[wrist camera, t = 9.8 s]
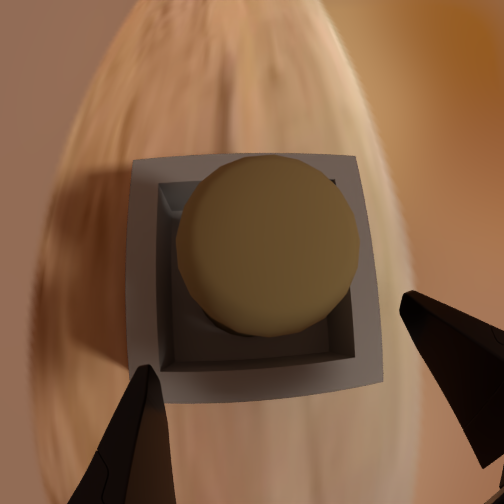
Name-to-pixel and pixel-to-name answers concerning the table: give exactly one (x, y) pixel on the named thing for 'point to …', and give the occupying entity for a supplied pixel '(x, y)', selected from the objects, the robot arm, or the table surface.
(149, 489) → the robot arm
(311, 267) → the cork
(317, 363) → the holder block
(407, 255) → the table surface
